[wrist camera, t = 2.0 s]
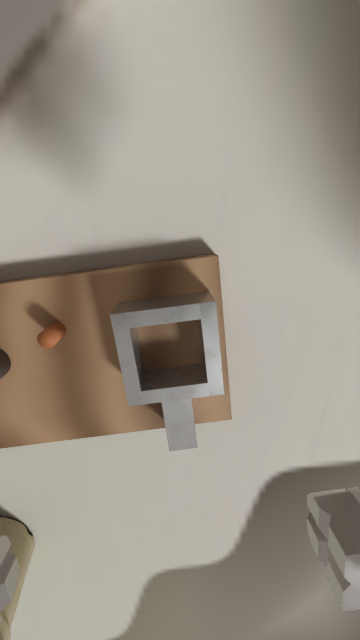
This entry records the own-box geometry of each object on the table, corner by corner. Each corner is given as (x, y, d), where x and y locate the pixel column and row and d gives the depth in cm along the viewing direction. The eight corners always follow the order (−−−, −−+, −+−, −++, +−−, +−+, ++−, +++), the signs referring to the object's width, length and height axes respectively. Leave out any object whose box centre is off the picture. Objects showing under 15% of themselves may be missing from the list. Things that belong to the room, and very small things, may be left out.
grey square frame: (118, 302, 21) (109, 314, 18) (209, 290, 21) (215, 301, 18) (142, 427, 24) (138, 454, 21) (221, 417, 24) (228, 443, 21)
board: (214, 253, 21) (230, 262, 16) (228, 408, 25) (243, 457, 20) (-88, 292, 21) (-173, 315, 16) (-27, 440, 25) (-80, 497, 20)
